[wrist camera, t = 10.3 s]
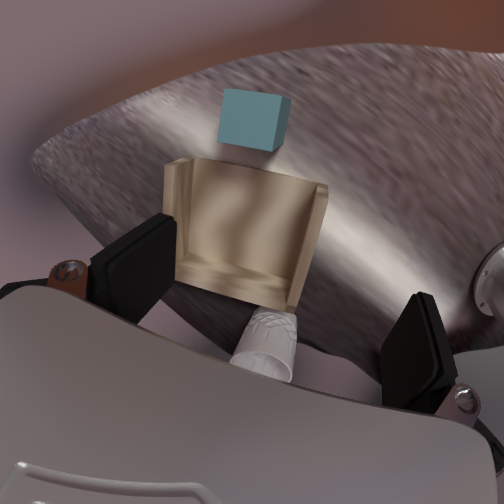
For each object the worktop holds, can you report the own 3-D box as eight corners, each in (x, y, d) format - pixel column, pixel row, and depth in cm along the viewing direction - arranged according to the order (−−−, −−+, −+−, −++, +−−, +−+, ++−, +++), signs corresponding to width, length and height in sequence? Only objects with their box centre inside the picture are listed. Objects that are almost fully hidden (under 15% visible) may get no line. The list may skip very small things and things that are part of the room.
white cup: (291, 345, 43) (280, 396, 34) (243, 329, 44) (224, 378, 35) (309, 309, 39) (301, 364, 30) (255, 291, 40) (235, 342, 31)
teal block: (291, 99, 27) (282, 96, 21) (283, 143, 29) (271, 151, 23) (246, 92, 28) (224, 88, 22) (239, 134, 30) (217, 141, 24)
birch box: (328, 185, 30) (328, 200, 26) (298, 287, 37) (293, 314, 33) (187, 155, 33) (164, 165, 28) (181, 255, 40) (163, 276, 35)
